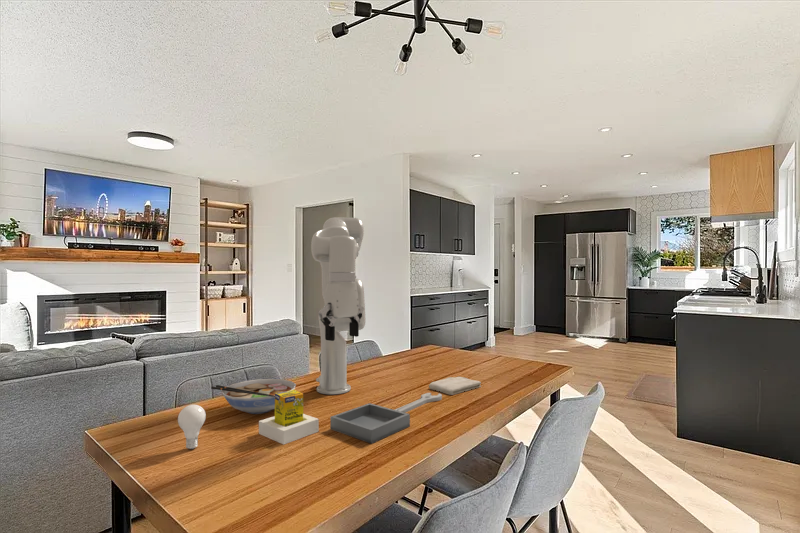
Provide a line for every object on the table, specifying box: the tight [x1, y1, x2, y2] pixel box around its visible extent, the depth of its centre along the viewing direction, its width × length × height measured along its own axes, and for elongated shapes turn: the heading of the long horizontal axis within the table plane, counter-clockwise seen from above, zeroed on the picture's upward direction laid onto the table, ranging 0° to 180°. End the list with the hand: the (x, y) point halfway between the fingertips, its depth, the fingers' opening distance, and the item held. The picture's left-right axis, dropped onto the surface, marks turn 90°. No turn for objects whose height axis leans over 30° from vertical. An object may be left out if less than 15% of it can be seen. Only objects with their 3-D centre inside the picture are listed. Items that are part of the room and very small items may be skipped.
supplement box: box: [274, 389, 304, 427], centre depth 118 cm, size 6×6×11 cm
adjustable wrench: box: [394, 392, 443, 413], centre depth 142 cm, size 25×6×2 cm, turn 138°
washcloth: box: [428, 376, 482, 396], centre depth 163 cm, size 12×18×3 cm, turn 132°
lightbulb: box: [177, 404, 207, 450], centre depth 107 cm, size 6×6×11 cm
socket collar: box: [258, 413, 320, 445], centre depth 118 cm, size 12×12×4 cm
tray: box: [330, 402, 411, 445], centre depth 121 cm, size 16×16×4 cm
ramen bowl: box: [210, 378, 297, 415], centre depth 137 cm, size 25×23×8 cm
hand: (342, 338), depth 122 cm, fingers open, 9 cm apart
